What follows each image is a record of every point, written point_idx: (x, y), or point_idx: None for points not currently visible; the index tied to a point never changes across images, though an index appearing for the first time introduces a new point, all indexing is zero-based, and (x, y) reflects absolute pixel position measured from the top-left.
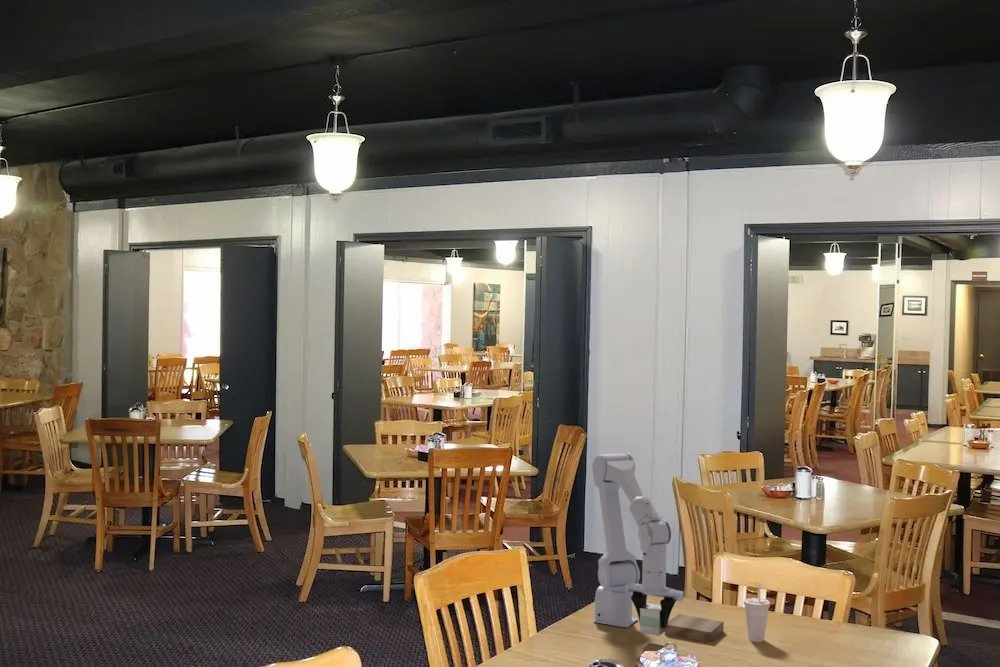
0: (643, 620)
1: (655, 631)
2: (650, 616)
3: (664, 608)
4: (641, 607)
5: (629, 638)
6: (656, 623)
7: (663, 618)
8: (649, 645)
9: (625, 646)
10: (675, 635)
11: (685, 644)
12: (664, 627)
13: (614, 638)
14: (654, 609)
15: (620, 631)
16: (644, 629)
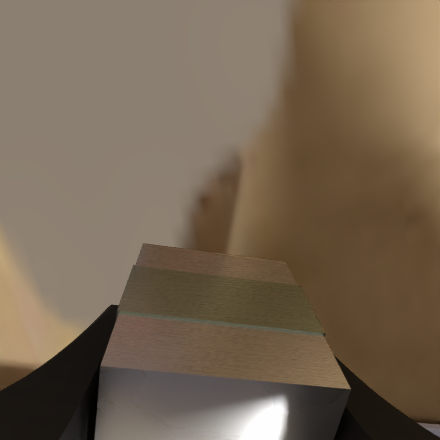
0: (279, 306)
1: (170, 258)
2: (217, 328)
3: (22, 412)
4: (339, 413)
5: (338, 300)
6: (156, 288)
7: (89, 343)
8: (215, 238)
9: (344, 170)
10: None
11: (37, 324)
12: (106, 309)
13: (416, 271)
14: (179, 406)
15: (394, 373)
16: (257, 268)
